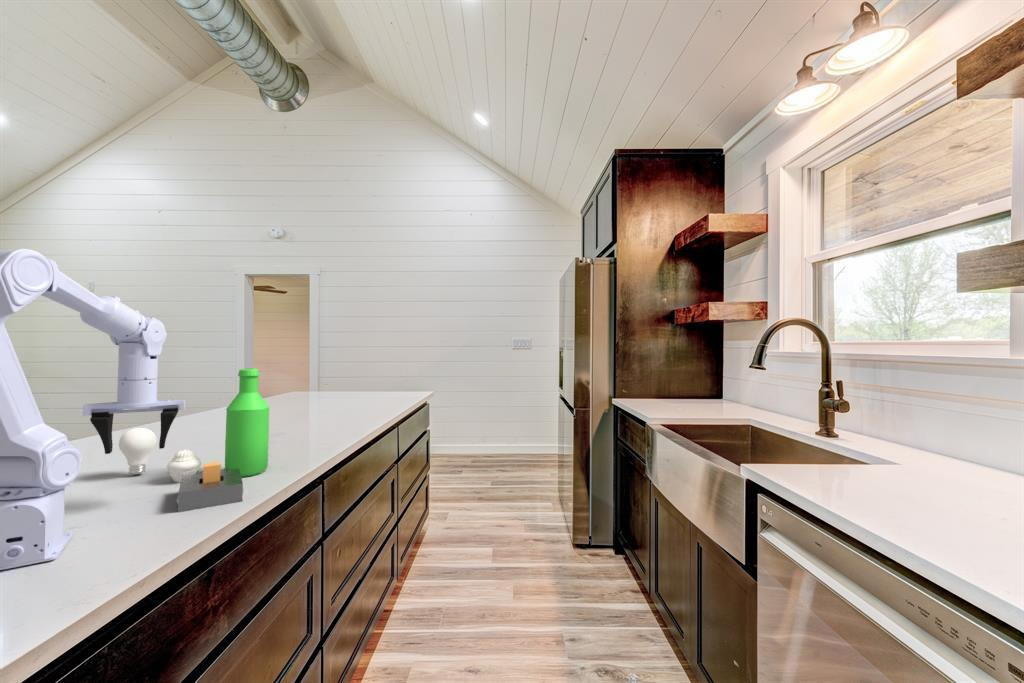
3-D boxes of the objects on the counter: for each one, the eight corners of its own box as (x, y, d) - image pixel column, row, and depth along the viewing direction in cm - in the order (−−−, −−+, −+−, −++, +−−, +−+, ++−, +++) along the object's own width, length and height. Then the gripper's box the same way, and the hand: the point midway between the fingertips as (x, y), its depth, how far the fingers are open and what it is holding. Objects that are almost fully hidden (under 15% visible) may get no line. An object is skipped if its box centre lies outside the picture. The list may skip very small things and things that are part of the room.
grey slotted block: (245, 500, 84) (245, 482, 84) (174, 512, 77) (174, 492, 77) (240, 478, 97) (240, 462, 97) (179, 486, 91) (180, 469, 91)
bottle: (216, 474, 100) (219, 369, 100) (253, 465, 107) (256, 367, 108) (238, 480, 96) (241, 370, 96) (275, 470, 103) (277, 369, 104)
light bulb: (124, 472, 100) (125, 426, 100) (159, 469, 103) (161, 424, 103) (112, 481, 94) (113, 431, 94) (150, 477, 97) (151, 429, 97)
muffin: (180, 485, 92) (181, 453, 92) (159, 482, 93) (159, 451, 93) (207, 477, 98) (208, 447, 98) (187, 474, 99) (187, 445, 99)
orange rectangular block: (219, 490, 87) (220, 461, 87) (219, 494, 85) (220, 464, 85) (202, 493, 86) (203, 463, 86) (202, 497, 83) (203, 466, 83)
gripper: (186, 376, 88) (184, 441, 88) (90, 378, 80) (88, 450, 80) (184, 379, 83) (183, 448, 83) (80, 381, 74) (78, 458, 74)
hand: (136, 450), depth 81 cm, fingers open, 7 cm apart
